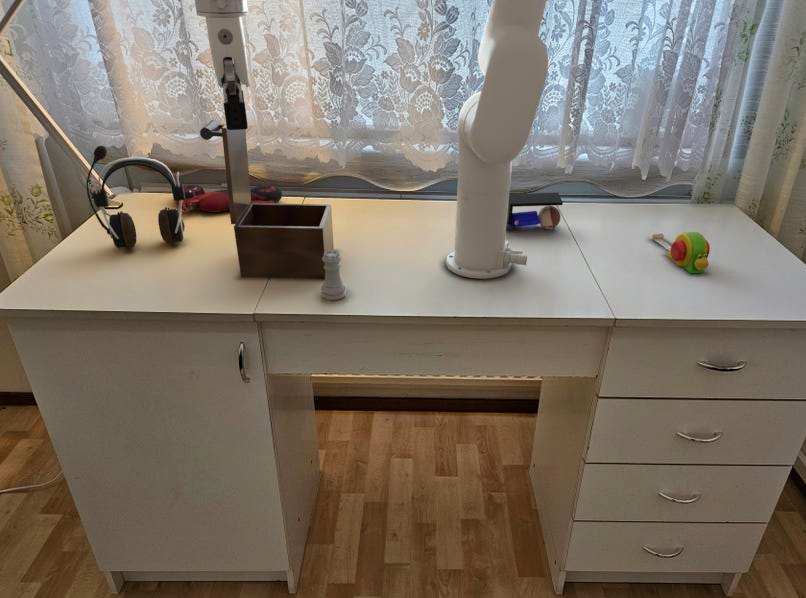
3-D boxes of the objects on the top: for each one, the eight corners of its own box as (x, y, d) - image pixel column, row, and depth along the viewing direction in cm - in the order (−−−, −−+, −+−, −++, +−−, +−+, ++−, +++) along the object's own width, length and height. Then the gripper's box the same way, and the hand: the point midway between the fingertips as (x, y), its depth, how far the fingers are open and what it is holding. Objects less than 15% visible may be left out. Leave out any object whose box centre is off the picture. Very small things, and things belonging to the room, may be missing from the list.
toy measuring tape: (685, 278, 125) (693, 246, 121) (642, 239, 141) (648, 210, 137) (716, 277, 126) (725, 244, 122) (670, 238, 142) (677, 209, 138)
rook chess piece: (347, 300, 114) (345, 258, 110) (321, 302, 113) (318, 259, 109) (346, 289, 118) (343, 247, 113) (320, 290, 117) (317, 248, 113)
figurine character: (494, 239, 143) (563, 232, 142) (492, 205, 139) (563, 198, 138) (490, 227, 149) (557, 221, 148) (489, 195, 144) (557, 188, 144)
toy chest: (333, 251, 132) (331, 204, 126) (326, 279, 121) (322, 228, 116) (255, 250, 131) (249, 202, 126) (241, 277, 121) (233, 226, 115)
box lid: (244, 111, 117) (213, 109, 117) (226, 128, 106) (192, 125, 106) (251, 200, 126) (222, 198, 126) (235, 224, 115) (204, 222, 115)
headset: (100, 258, 126) (72, 153, 116) (103, 243, 132) (76, 142, 122) (194, 248, 131) (175, 146, 121) (192, 234, 137) (174, 136, 127)
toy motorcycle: (180, 201, 158) (156, 214, 143) (178, 179, 156) (153, 190, 141) (285, 206, 159) (272, 219, 144) (284, 184, 157) (271, 195, 142)
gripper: (249, 9, 93) (263, 134, 102) (245, 0, 107) (257, 110, 116) (193, 9, 91) (212, 136, 100) (196, -1, 105) (213, 111, 114)
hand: (236, 122), depth 108 cm, fingers open, 9 cm apart
